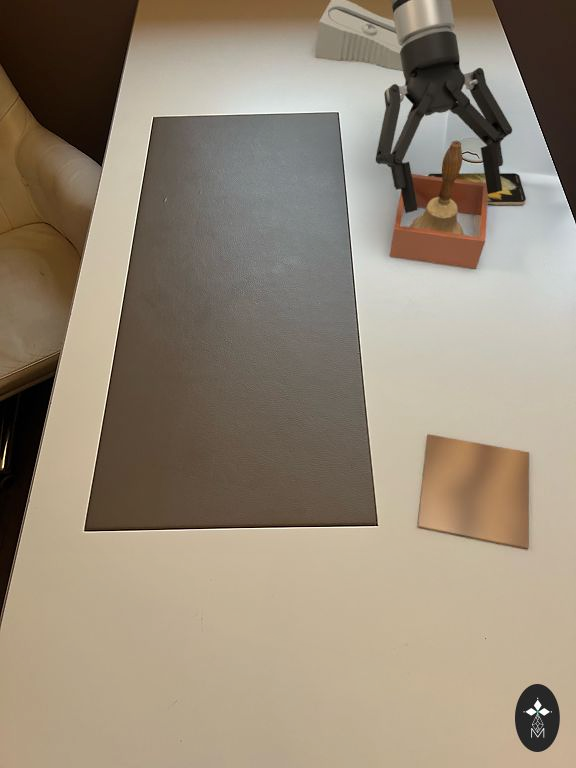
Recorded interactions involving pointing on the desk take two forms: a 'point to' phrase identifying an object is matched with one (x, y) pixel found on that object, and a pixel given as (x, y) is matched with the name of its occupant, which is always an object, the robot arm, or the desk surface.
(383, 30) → the wedge sharpener
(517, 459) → the copper plate
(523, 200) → the smartphone
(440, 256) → the open box
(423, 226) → the hand bell
